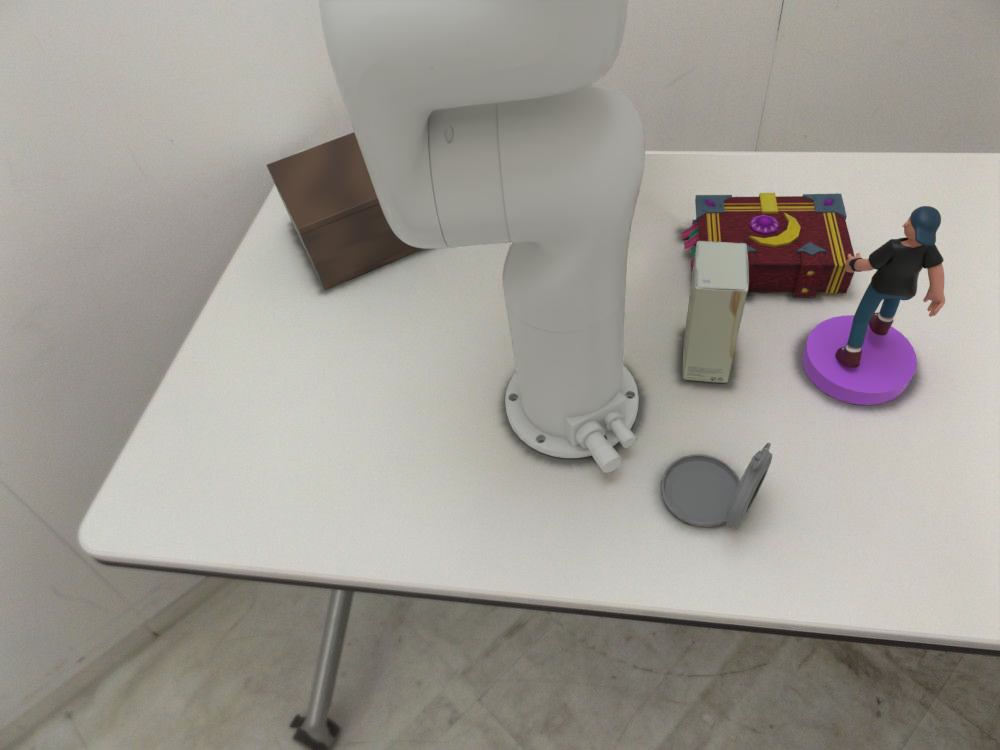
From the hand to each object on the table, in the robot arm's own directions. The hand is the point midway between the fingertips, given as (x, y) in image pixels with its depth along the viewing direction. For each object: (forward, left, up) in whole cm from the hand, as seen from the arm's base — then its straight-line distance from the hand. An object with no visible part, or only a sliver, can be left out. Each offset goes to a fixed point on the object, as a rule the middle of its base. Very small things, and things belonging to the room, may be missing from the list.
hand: (547, 77), depth 83 cm
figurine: (-46, -7, -11) cm, 48 cm away
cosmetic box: (-38, +4, -11) cm, 40 cm away
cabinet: (0, +27, -11) cm, 29 cm away
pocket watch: (-51, +13, -11) cm, 54 cm away
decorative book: (-30, -9, -11) cm, 33 cm away
